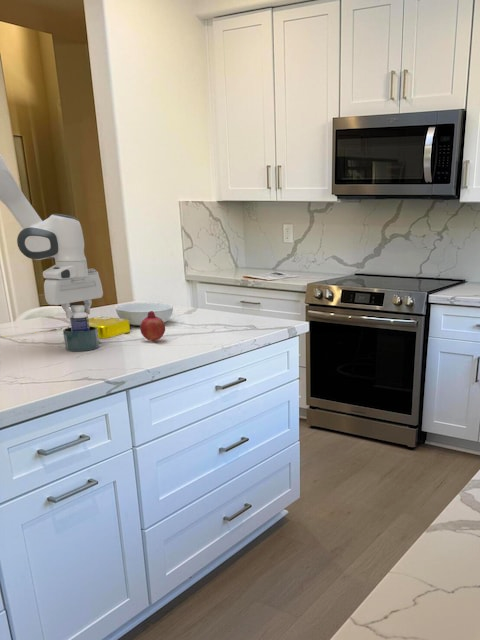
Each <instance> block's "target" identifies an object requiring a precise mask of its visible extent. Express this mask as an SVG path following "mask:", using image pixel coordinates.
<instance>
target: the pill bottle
mask: <svg viewBox="0 0 480 640" xmlns="http://www.w3.org/2000/svg"><path fill="white" fill-rule="evenodd" d="M84 305H85V304H84ZM84 305H83V304H73V305H70V310H71V312H74V317H73V318H69V321H70V322H69V323H70V327H71V330H72V332H83V331H90V328H89V320H88V319H89V314H87V313H86V312H84V310H85V308H84Z"/></svg>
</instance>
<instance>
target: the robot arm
mask: <svg viewBox="0 0 480 640" xmlns="http://www.w3.org/2000/svg"><path fill="white" fill-rule="evenodd" d="M0 202H1V203H2V204H4V205H5V207H6V208H7V209H8V210H9V212H10V214H12V216H13V217H14V219H15V220H16V221H17V223H18V224H19V225H20V227H21V228H22V230H20V231H19V233H18V235H17V238H16V243H17V247H18V250H19V252H20V253H21V254H22V255H23V256H25V258H28V259H31V260H35V261H42V260H47V259H49V260H50V259H54V262H55V264H54V265H52V266H50V267H49V268H46V269H45V270H44V271H42V278H44V279H45V280H44V282H43V292H44V298H45V302H46V304H48V305H50V306H60V305H61V308H62V310H63V311H64V313H65V317H66V318H67V319H70V318H73V317H74V312H72V311H71V304H72V303H73V304H74V303H78V302H83V304H84V308H85V310H84V312H86V313H87V314H88V315H90V314H91V308H92V304H93V301H92V300H95V299H101V298H103V296H104V290H103V285H102V282H101V278H100V275H99V274H100V273H99V272H98V271H97V270H96V269H95V268H92V267H91V268H88V262H87V261H88V260H87V257H86V255H85V239H84V233H83V228H82V225H81V223H80V221H79V220H78V219H77V217H75V216H74V215H73V216H72V215H68V214H63V213H52V214H51V215H49V217H47V218H46V219H43V218H42V217H41V216H40V214H39V213H38V212H37V211H36V209H35V208H34V207H33V205H32V203H31V201H29V199H28V198H27V197H26V195H25V194H24V192H23V191H22V188H20V186H19V184H18V182H17V180H16V179H15V177H14V175H13V173H12V171H11V169H10V168H9V166H8V164H7V163H6V160H5V158H4V157H3V155H2V154H1V153H0Z"/></svg>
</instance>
